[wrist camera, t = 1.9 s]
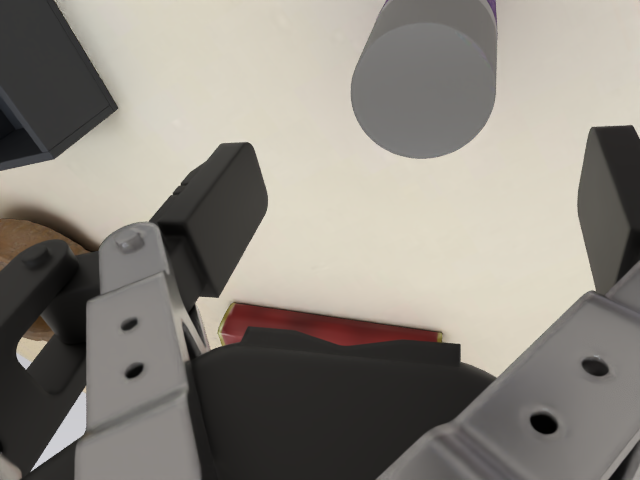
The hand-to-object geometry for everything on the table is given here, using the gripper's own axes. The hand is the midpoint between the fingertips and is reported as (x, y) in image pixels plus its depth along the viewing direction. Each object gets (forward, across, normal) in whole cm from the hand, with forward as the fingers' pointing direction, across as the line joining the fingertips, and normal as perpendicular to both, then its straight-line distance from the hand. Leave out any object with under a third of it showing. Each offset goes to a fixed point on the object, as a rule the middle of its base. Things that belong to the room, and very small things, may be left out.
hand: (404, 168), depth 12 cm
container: (+19, 0, 0) cm, 19 cm away
